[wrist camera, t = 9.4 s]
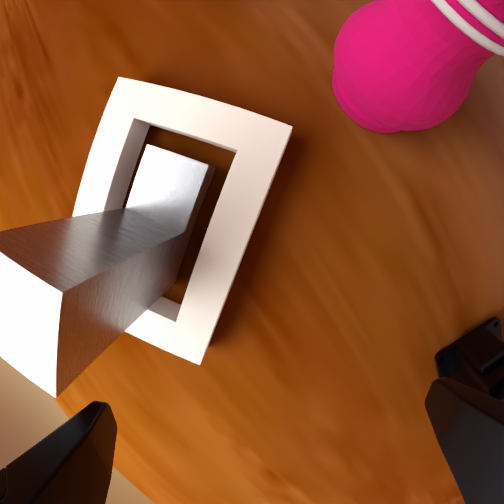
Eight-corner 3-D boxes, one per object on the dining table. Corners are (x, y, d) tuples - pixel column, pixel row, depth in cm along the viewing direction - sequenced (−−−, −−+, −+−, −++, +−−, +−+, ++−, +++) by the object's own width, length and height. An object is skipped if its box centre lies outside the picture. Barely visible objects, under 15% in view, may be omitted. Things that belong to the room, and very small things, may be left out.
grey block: (215, 167, 19) (100, 133, 6) (174, 283, 20) (55, 398, 8) (159, 147, 19) (5, 108, 6) (123, 260, 20) (-20, 337, 8)
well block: (291, 134, 18) (292, 126, 15) (208, 346, 21) (199, 365, 19) (135, 87, 18) (118, 77, 15) (77, 285, 21) (58, 295, 19)
